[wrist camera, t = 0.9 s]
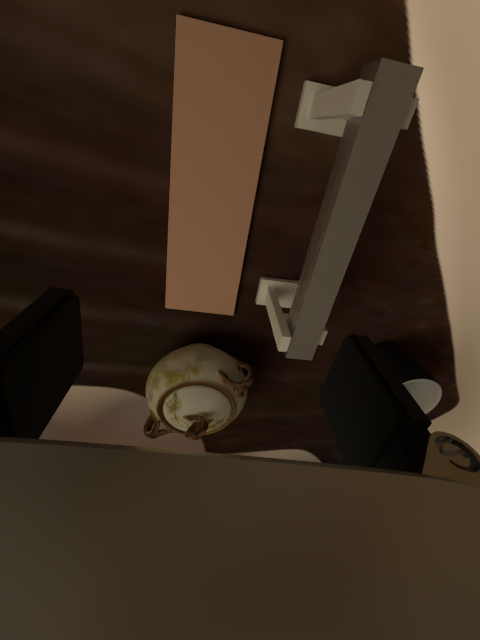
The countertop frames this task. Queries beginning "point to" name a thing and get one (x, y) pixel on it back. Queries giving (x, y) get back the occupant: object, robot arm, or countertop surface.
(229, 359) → the sugar bowl
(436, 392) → the mug
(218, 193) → the terracotta mat
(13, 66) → the countertop surface
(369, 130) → the steel rail
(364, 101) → the shelf brackets
